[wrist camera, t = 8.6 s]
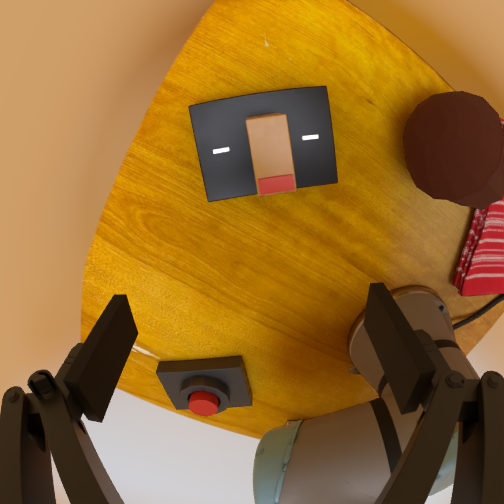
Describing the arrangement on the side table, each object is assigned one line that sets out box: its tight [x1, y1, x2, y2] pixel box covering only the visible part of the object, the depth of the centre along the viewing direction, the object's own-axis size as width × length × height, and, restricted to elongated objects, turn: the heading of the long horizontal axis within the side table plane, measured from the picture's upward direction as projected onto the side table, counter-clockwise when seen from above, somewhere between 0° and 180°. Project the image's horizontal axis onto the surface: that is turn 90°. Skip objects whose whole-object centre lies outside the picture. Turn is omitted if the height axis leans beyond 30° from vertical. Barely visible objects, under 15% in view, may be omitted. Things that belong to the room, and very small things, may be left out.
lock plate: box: [189, 86, 338, 202], centre depth 27 cm, size 12×9×3 cm
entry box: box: [156, 356, 252, 414], centre depth 41 cm, size 12×9×4 cm
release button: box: [189, 391, 219, 416], centre depth 39 cm, size 4×4×2 cm
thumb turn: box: [246, 113, 297, 197], centre depth 22 cm, size 5×2×8 cm, turn 9°
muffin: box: [403, 91, 504, 210], centre depth 23 cm, size 12×11×10 cm
